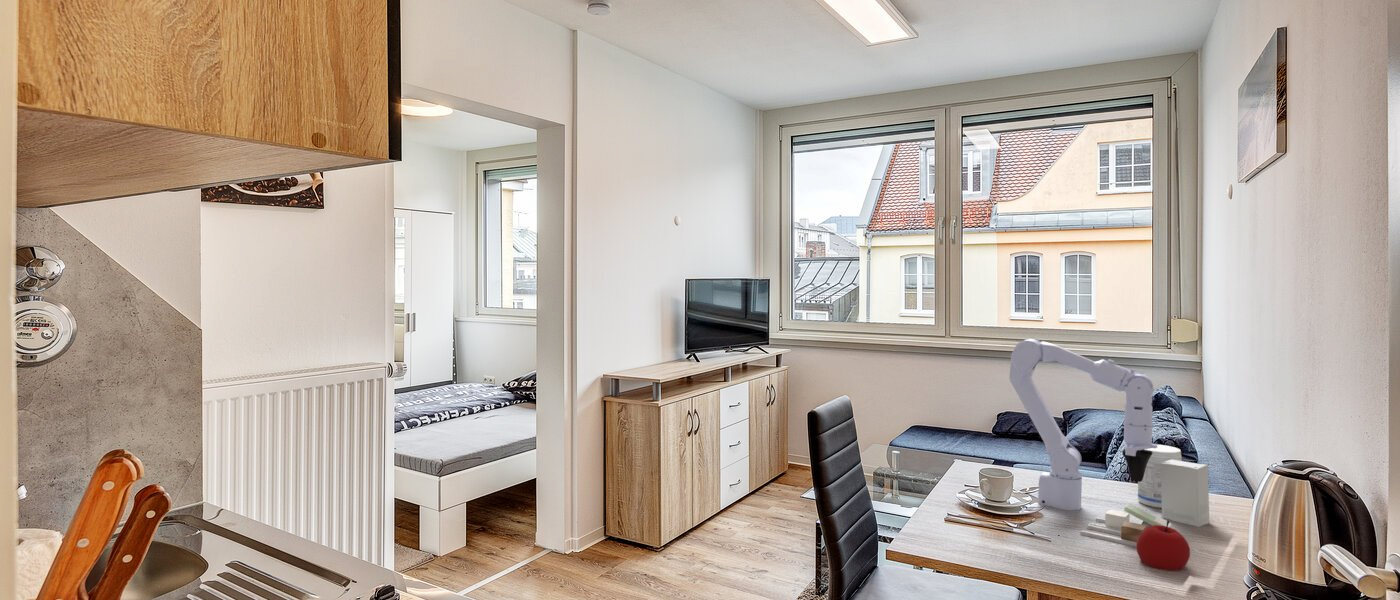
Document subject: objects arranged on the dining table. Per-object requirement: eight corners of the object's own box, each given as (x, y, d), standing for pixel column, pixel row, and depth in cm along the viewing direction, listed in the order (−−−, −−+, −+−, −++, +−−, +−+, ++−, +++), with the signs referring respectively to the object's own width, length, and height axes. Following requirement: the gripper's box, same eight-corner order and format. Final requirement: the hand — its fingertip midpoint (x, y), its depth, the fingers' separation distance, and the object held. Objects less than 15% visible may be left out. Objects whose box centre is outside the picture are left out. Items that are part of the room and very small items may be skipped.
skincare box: (1209, 528, 171) (1211, 465, 171) (1197, 532, 168) (1199, 468, 168) (1170, 518, 178) (1172, 457, 178) (1158, 522, 175) (1160, 460, 175)
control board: (1064, 537, 164) (1064, 524, 164) (1092, 515, 180) (1092, 503, 180) (1168, 561, 151) (1168, 547, 151) (1188, 534, 167) (1188, 522, 167)
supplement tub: (1159, 497, 195) (1160, 443, 195) (1190, 508, 186) (1191, 451, 186) (1128, 499, 193) (1129, 444, 193) (1158, 510, 184) (1159, 452, 184)
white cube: (1105, 528, 167) (1105, 513, 167) (1109, 524, 170) (1110, 509, 170) (1124, 532, 164) (1125, 517, 164) (1129, 528, 167) (1129, 513, 167)
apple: (1135, 558, 152) (1136, 510, 152) (1187, 566, 148) (1188, 517, 148) (1136, 573, 144) (1137, 523, 144) (1191, 583, 140) (1192, 531, 140)
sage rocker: (1123, 510, 168) (1126, 505, 168) (1128, 506, 171) (1130, 502, 171) (1166, 533, 163) (1168, 528, 162) (1169, 528, 166) (1172, 523, 165)
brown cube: (1121, 541, 158) (1121, 525, 158) (1125, 536, 161) (1126, 521, 161) (1142, 546, 156) (1142, 530, 155) (1146, 541, 158) (1146, 525, 158)
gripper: (1150, 431, 167) (1149, 490, 167) (1163, 422, 178) (1162, 477, 178) (1115, 426, 172) (1114, 484, 172) (1131, 418, 182) (1129, 472, 183)
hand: (1136, 480), depth 175 cm, fingers closed
